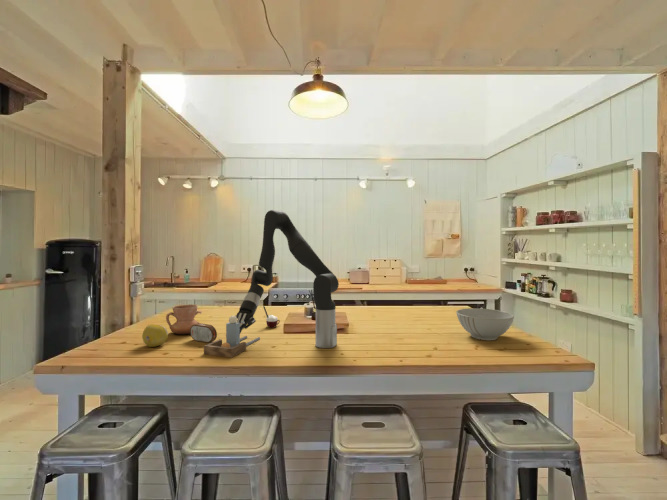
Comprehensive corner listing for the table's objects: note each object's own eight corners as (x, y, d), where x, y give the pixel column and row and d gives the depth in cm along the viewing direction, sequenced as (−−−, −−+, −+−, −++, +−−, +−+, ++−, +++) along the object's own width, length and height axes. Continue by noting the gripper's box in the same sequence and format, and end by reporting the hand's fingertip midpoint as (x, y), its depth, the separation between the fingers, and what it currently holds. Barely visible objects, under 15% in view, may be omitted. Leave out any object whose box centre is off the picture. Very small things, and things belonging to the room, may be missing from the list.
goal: (245, 350, 156) (245, 342, 156) (231, 357, 146) (231, 349, 146) (219, 346, 160) (219, 339, 160) (203, 353, 150) (203, 345, 150)
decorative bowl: (454, 341, 171) (454, 316, 170) (457, 328, 195) (457, 306, 195) (516, 347, 160) (516, 321, 160) (511, 333, 185) (511, 310, 185)
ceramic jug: (205, 328, 193) (204, 303, 193) (199, 335, 179) (198, 307, 179) (171, 330, 191) (170, 304, 191) (162, 337, 176) (161, 309, 176)
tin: (217, 342, 167) (217, 325, 167) (212, 344, 164) (212, 326, 164) (194, 338, 174) (193, 321, 173) (189, 340, 171) (188, 323, 171)
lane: (259, 339, 173) (259, 337, 173) (240, 349, 157) (240, 347, 157) (245, 337, 175) (245, 335, 175) (224, 347, 159) (224, 345, 159)
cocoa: (279, 325, 202) (280, 305, 202) (279, 328, 196) (280, 306, 196) (262, 325, 201) (263, 304, 201) (261, 327, 194) (262, 306, 195)
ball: (232, 351, 154) (232, 342, 154) (226, 353, 150) (226, 344, 151) (224, 350, 156) (224, 341, 156) (218, 352, 152) (219, 343, 152)
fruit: (162, 348, 157) (162, 326, 157) (137, 349, 156) (137, 327, 156) (171, 342, 167) (171, 321, 167) (148, 342, 167) (148, 321, 166)
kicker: (240, 346, 159) (240, 315, 159) (235, 349, 156) (235, 317, 155) (230, 345, 161) (230, 314, 160) (225, 348, 157) (225, 316, 157)
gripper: (235, 298, 171) (219, 329, 160) (259, 300, 167) (245, 332, 155) (241, 307, 176) (227, 338, 165) (264, 309, 172) (251, 340, 161)
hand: (235, 335), depth 160 cm, fingers closed
